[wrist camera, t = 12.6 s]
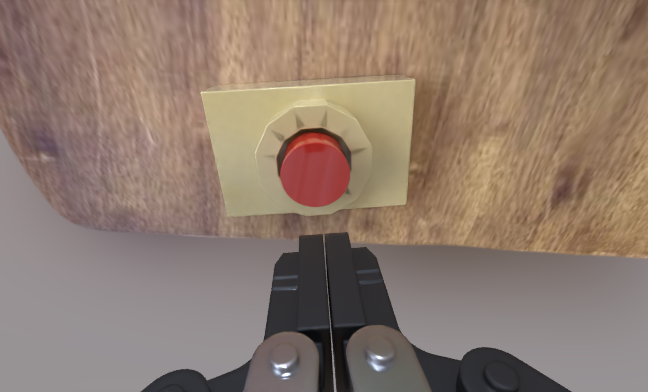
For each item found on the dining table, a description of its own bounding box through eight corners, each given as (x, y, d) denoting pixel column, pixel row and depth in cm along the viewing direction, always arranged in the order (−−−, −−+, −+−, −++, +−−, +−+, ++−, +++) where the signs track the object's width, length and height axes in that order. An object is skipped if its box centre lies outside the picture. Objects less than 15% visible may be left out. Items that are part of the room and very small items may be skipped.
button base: (236, 196, 24) (220, 233, 19) (214, 84, 20) (188, 97, 16) (394, 185, 24) (415, 219, 19) (400, 73, 20) (427, 83, 16)
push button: (286, 193, 19) (284, 209, 17) (279, 133, 17) (276, 144, 15) (346, 188, 19) (351, 205, 17) (345, 129, 17) (350, 139, 15)
